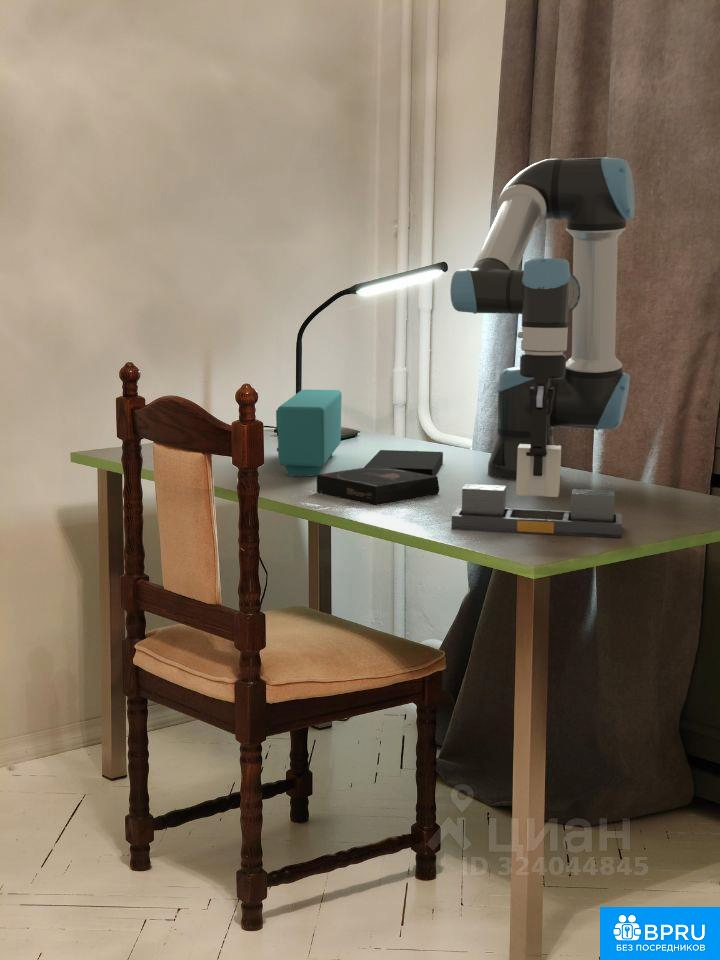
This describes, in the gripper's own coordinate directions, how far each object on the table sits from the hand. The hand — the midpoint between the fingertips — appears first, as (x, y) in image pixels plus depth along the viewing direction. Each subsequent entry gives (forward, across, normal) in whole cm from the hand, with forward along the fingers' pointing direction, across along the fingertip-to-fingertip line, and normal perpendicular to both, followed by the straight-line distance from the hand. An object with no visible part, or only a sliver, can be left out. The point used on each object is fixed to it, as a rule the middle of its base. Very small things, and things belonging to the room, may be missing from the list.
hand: (538, 491), depth 206 cm
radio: (+6, -53, -53) cm, 75 cm away
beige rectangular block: (0, 0, 0) cm, 0 cm away
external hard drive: (+7, -50, -31) cm, 60 cm away
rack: (+6, 0, 0) cm, 6 cm away
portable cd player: (+7, -24, -32) cm, 41 cm away
